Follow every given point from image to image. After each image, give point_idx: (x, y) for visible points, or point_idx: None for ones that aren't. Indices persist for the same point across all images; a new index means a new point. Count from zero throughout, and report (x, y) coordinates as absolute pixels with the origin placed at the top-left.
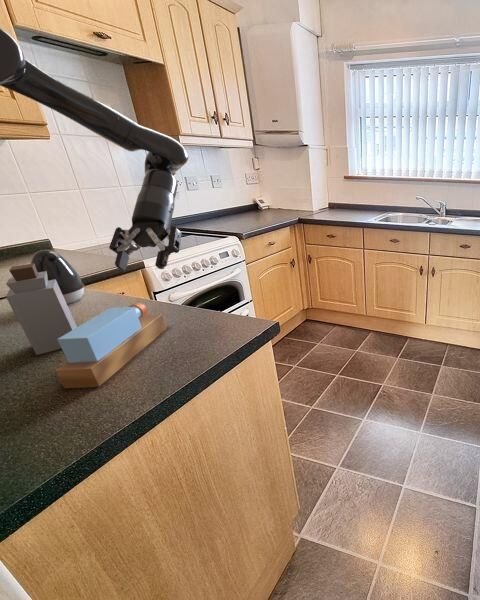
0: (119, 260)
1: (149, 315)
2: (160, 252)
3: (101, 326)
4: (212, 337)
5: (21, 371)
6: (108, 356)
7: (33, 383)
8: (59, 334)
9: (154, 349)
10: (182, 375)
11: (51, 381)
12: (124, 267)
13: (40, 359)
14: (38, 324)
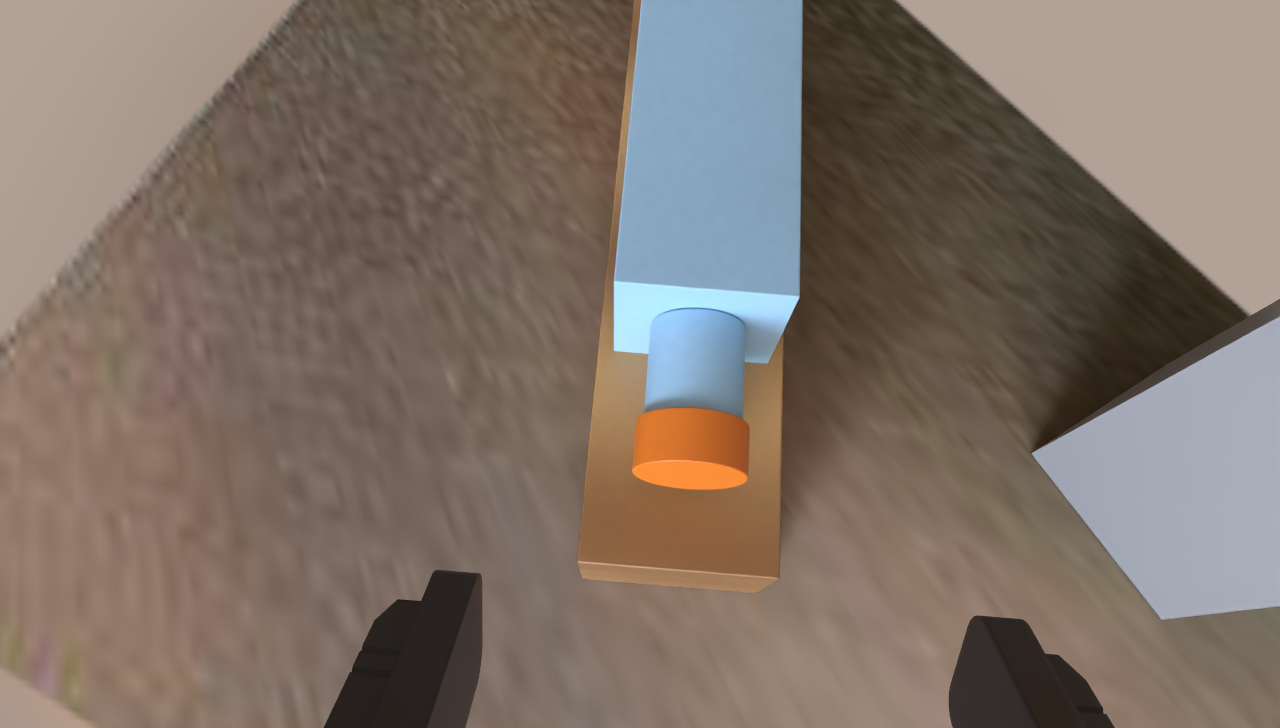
0: (1024, 675)
1: (661, 548)
2: (378, 726)
3: (658, 29)
4: (241, 402)
5: (1086, 223)
6: (626, 78)
7: (937, 125)
8: (1126, 395)
9: (541, 318)
10: (313, 78)
11: (870, 127)
12: (963, 707)
13: (1099, 317)
14: (1241, 325)
